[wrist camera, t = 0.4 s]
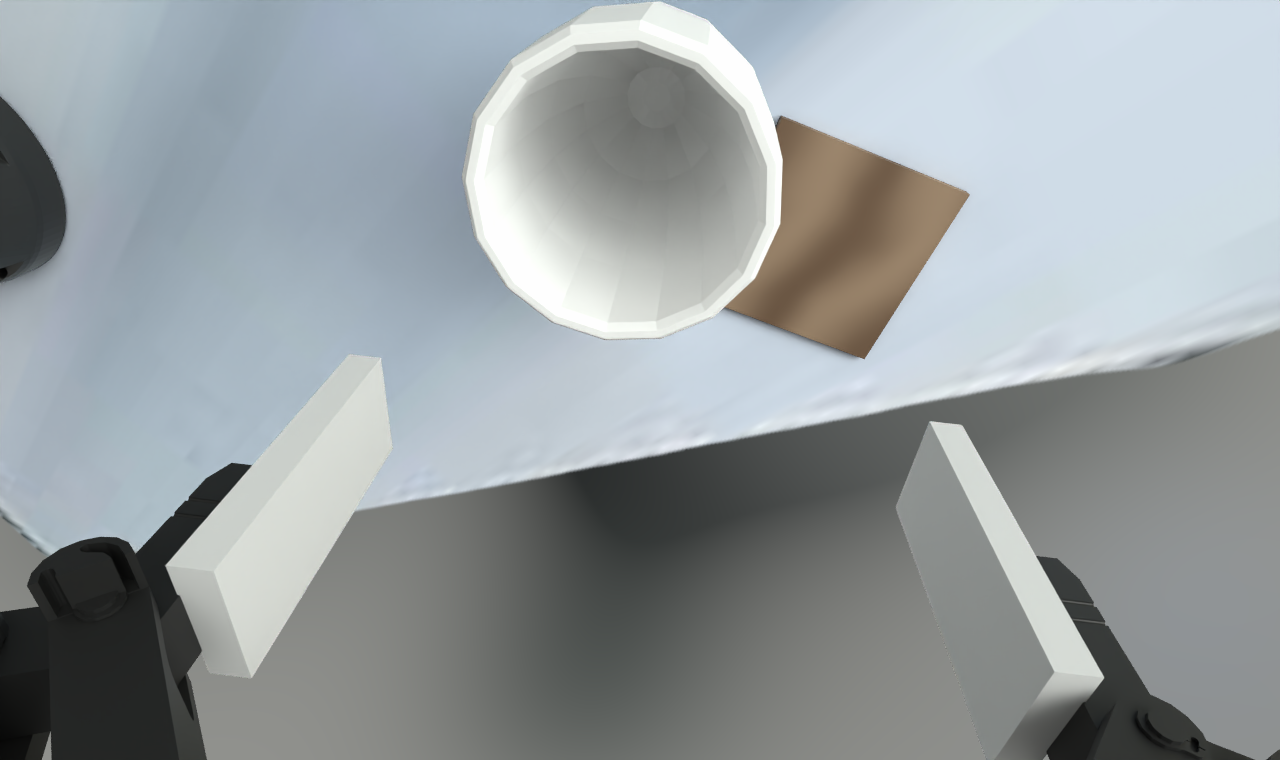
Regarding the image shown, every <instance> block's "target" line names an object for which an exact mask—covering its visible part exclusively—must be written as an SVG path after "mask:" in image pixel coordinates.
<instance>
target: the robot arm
mask: <svg viewBox="0 0 1280 760" xmlns="http://www.w3.org/2000/svg"><path fill="white" fill-rule="evenodd" d="M64 230H65V205H64V199H63V195H62V191H61V187H60V184H59V181H58V178H57V176H56V173H55V171H54V169H53V167H52V164H51V163H50V161H49V159H48V157H47V155H46V153H45V151H44V150H43V148H42V146H41V145H40V143H39V142H38V140H37V139H36V137H35V136H34V135H33V133H32V132H31V130H30V129H29V128H28V127H27V125H26V124H25V123H24V121H23V120H22V119H21V118H20V117H19V116H18V114H17V113H16V112H15V111H14V110H13V109H12V108H11V107H10V106H9V105H8V104H7V103H6V102H5V101H4V100H3V99H2V98H1V97H0V283H2V282H6V281H9V280H12V279H14V278H16V277H18V276H21V275H23V274H25V273H27V272H29V271H31V270H33V269H36V268H38V267H40V266H41V265H43V264H44V263H46V262H47V261H48V260H49V259H50V258H51V257H52V256H53V255H54V254H55V252H56V251H57V249H58V248H59V246H60V244H61V241H62V238H63V235H64ZM392 449H393V447H392V439H391V431H390V424H389V416H388V409H387V401H386V393H385V386H384V378H383V370H382V363H381V358H378V357H370V356H361V355H352V354H349V355H348V356H347V357H346V358H345V359H344V361H343V362H342V363H341V364H340V365H339V366H338V368H337V369H336V370H335V371H334V372H333V373H332V374H331V376H330V377H329V378H328V379H327V380H326V381H325V382H324V384H323V385H322V386H321V387H320V388H319V389H318V391H317V392H316V393H315V394H314V395H313V396H312V397H311V399H310V400H309V401H308V402H307V403H306V404H305V405H304V407H303V408H302V409H301V410H300V411H299V412H298V414H297V415H296V416H295V417H294V418H293V419H292V420H291V422H290V423H289V424H288V425H287V426H286V427H285V428H284V430H283V431H282V432H281V433H280V434H279V435H278V437H277V438H276V439H275V440H274V441H273V442H272V443H271V445H270V446H269V447H268V448H267V449H266V450H265V452H264V453H263V454H262V455H261V456H260V457H259V458H258V460H257V461H256V462H255V463H254V464H253V465H245V464H237V463H231V464H229V465H228V466H226V467H224V468H223V469H221V470H219V471H218V472H216V473H214V474H213V475H211V476H209V477H208V478H206V479H205V480H204V481H203V482H202V484H201V485H200V486H199V487H198V488H197V489H196V490H195V491H194V492H193V493H192V494H191V495H190V496H189V500H188V501H185V502H184V503H183V504H182V505H181V506H180V507H179V508H178V509H177V510H176V511H175V514H174V516H171V517H170V518H169V519H168V520H167V521H166V522H165V523H164V524H163V525H162V526H161V527H160V528H159V529H158V531H157V532H156V533H155V534H154V535H153V536H152V537H151V538H150V539H149V540H148V541H147V542H146V543H145V544H144V545H143V547H142V548H141V549H140V550H139V551H138V552H137V553H136V554H135V553H134V551H133V549H132V547H131V546H130V544H129V542H126V541H124V540H122V539H119V538H117V537H97V538H92V539H87V540H82V541H79V542H76V543H74V544H71V545H69V546H66V547H64V548H62V549H60V550H58V551H57V552H55V553H54V554H52V555H50V556H49V557H47V558H46V559H44V560H43V561H42V562H41V563H40V564H39V565H38V567H37V568H36V569H35V570H34V571H33V572H32V573H31V576H30V579H29V582H28V585H27V587H28V588H29V590H30V592H31V594H32V595H33V597H34V599H35V601H36V602H37V604H38V606H39V607H33V608H27V609H19V610H11V611H4V612H0V760H42V757H43V754H44V750H45V747H46V744H47V740H48V737H49V734H50V731H51V750H52V751H51V752H52V760H207V759H206V753H205V749H204V744H203V739H202V734H201V729H200V724H199V719H198V715H197V710H196V705H195V700H194V695H193V690H192V685H191V681H190V679H189V677H188V674H187V672H188V670H189V669H190V667H191V666H192V665H193V663H194V662H195V660H196V659H197V658H198V656H199V655H200V653H201V654H202V657H203V659H204V662H205V664H206V667H207V669H208V672H209V673H212V674H220V675H228V676H236V677H245V678H252V677H253V675H254V674H255V672H256V670H257V669H258V667H259V665H260V664H261V662H262V660H263V659H264V657H265V656H266V654H267V652H268V651H269V649H270V648H271V646H272V644H273V643H274V641H275V639H276V638H277V636H278V635H279V633H280V631H281V630H282V628H283V626H284V625H285V623H286V621H287V620H288V618H289V617H290V615H291V613H292V612H293V610H294V608H295V607H296V605H297V604H298V602H299V600H300V599H301V597H302V595H303V594H304V592H305V591H306V589H307V587H308V586H309V584H310V582H311V580H312V579H313V577H314V576H315V574H316V573H317V571H318V569H319V568H320V566H321V564H322V563H323V561H324V560H325V558H326V556H327V555H328V553H329V552H330V550H331V548H332V547H333V545H334V543H335V542H336V540H337V539H338V537H339V535H340V534H341V532H342V530H343V529H344V527H345V525H346V524H347V522H348V520H349V519H350V517H351V516H352V514H353V512H354V511H355V509H356V508H357V506H358V504H359V503H360V501H361V499H362V498H363V496H364V495H365V493H366V491H367V490H368V488H369V486H370V485H371V483H372V482H373V480H374V478H375V477H376V475H377V473H378V472H379V470H380V469H381V467H382V465H383V464H384V462H385V460H386V459H387V457H388V456H389V454H390V452H391V451H392ZM896 510H897V513H898V516H899V519H900V521H901V524H902V527H903V530H904V532H905V535H906V538H907V541H908V543H909V546H910V549H911V552H912V555H913V557H914V560H915V563H916V566H917V569H918V571H919V574H920V577H921V580H922V583H923V585H924V588H925V591H926V593H927V596H928V599H929V602H930V605H931V608H932V610H933V613H934V616H935V619H936V621H937V624H938V627H939V629H940V633H941V635H942V638H943V641H944V644H945V646H946V649H947V652H948V655H949V658H950V660H951V663H952V666H953V668H954V672H955V674H956V677H957V680H958V683H959V685H960V688H961V691H962V694H963V697H964V699H965V702H966V705H967V708H968V710H969V713H970V716H971V719H972V722H973V724H974V727H975V730H976V733H977V735H978V738H979V741H980V744H981V747H982V749H983V752H984V754H985V758H986V760H1043V758H1044V757H1045V756H1046V755H1047V754H1048V757H1049V759H1050V760H1254V759H1251V758H1249V757H1246V756H1244V755H1241V754H1238V753H1236V752H1233V751H1231V750H1228V749H1226V748H1223V747H1220V746H1218V745H1215V744H1213V743H1211V742H1208V741H1206V739H1205V737H1204V735H1203V733H1202V732H1201V731H1200V730H1199V729H1198V728H1197V726H1196V725H1195V724H1194V723H1193V722H1192V721H1191V720H1190V719H1189V718H1188V717H1187V716H1186V715H1184V714H1183V713H1182V712H1180V711H1179V710H1178V709H1176V708H1175V707H1173V706H1172V705H1171V704H1169V703H1167V702H1165V701H1163V700H1160V699H1159V698H1156V697H1154V696H1152V695H1150V694H1149V692H1148V690H1147V689H1146V687H1145V685H1144V684H1143V682H1142V681H1141V679H1140V677H1139V676H1138V674H1137V672H1136V671H1135V669H1134V667H1133V666H1132V664H1131V663H1130V661H1129V660H1128V658H1127V656H1126V654H1125V653H1124V651H1123V650H1122V648H1121V646H1120V645H1119V643H1118V641H1117V640H1116V638H1115V637H1114V635H1113V633H1112V632H1111V630H1110V629H1109V627H1108V626H1105V620H1104V619H1103V617H1102V615H1101V614H1100V612H1099V610H1098V609H1097V607H1094V606H1093V603H1094V602H1093V601H1092V599H1091V597H1090V596H1089V594H1088V592H1087V591H1086V589H1085V588H1084V586H1083V584H1082V583H1081V581H1080V580H1079V579H1078V578H1077V577H1076V576H1075V575H1074V574H1073V573H1072V572H1071V571H1070V570H1069V569H1068V568H1067V567H1066V566H1064V565H1063V564H1062V563H1061V562H1060V561H1059V560H1058V559H1057V558H1048V557H1039V556H1035V554H1034V552H1033V550H1032V549H1031V547H1030V545H1029V543H1028V541H1027V540H1026V538H1025V536H1024V535H1023V533H1022V531H1021V529H1020V527H1019V526H1018V524H1017V522H1016V520H1015V518H1014V517H1013V515H1012V513H1011V511H1010V509H1009V508H1008V506H1007V504H1006V502H1005V501H1004V499H1003V497H1002V495H1001V494H1000V492H999V490H998V488H997V486H996V485H995V483H994V481H993V479H992V478H991V476H990V474H989V472H988V470H987V469H986V467H985V465H984V464H983V462H982V460H981V458H980V456H979V454H978V453H977V451H976V449H975V448H974V446H973V444H972V442H971V441H970V439H969V437H968V435H967V433H966V431H965V430H964V428H963V426H962V425H957V424H948V423H939V422H931V421H930V422H929V424H928V427H927V429H926V432H925V434H924V437H923V439H922V442H921V444H920V447H919V450H918V452H917V455H916V457H915V460H914V462H913V465H912V467H911V470H910V472H909V475H908V477H907V480H906V483H905V485H904V487H903V490H902V493H901V495H900V498H899V500H898V503H897V505H896ZM1267 760H1280V750H1278V751H1277V752H1275V753H1274V754H1273V755H1271V756H1270V757H1269V758H1268V759H1267Z"/></svg>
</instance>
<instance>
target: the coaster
mask: <svg viewBox="0 0 1280 760" xmlns="http://www.w3.org/2000/svg"><path fill="white" fill-rule="evenodd" d="M775 129H776V133H777V137H778V142H779V146H780V151H781V155H782V159H783V162H782V189H781V216H780V225H779V228H778V230H777V232H776V234H775V236H774V238H773V241H772V243H771V245H770V247H769V249H768V251H767V253H766V256H765V258H764V260H763V262H762V264H761V266H760V269H759V271H758V273H757V275H756V277H755V279H754V280H753V281H752V282H751V283H750V284H749V285H747V286H746V287H745V288H744V289H743V290H742V291H741V292H740V293H739V294H738V295H737V296H736V297H735V298H734V299H733V300H731V301H730V302H729V303H728V304H727V305H726V306H725V308H728V309H731V310H734V311H736V312H739V313H742V314H744V315H747V316H750V317H752V318H755V319H758V320H760V321H763V322H766V323H769V324H771V325H774V326H777V327H779V328H782V329H785V330H787V331H790V332H793V333H795V334H798V335H801V336H804V337H806V338H809V339H812V340H814V341H817V342H820V343H822V344H825V345H828V346H830V347H833V348H836V349H839V350H841V351H844V352H847V353H849V354H852V355H855V356H857V357H860V358H863V359H865V357H866V356H867V354H868V353H869V351H870V350H871V348H872V346H873V345H874V343H875V342H876V340H877V339H878V337H879V336H880V334H881V332H882V331H883V329H884V328H885V326H886V325H887V323H888V321H889V320H890V318H891V317H892V315H893V314H894V312H895V311H896V309H897V307H898V306H899V304H900V303H901V301H902V300H903V298H904V297H905V295H906V293H907V292H908V290H909V289H910V287H911V286H912V284H913V282H914V281H915V279H916V278H917V276H918V275H919V273H920V272H921V270H922V268H923V267H924V265H925V264H926V262H927V261H928V259H929V258H930V256H931V254H932V253H933V251H934V250H935V248H936V247H937V245H938V243H939V242H940V240H941V239H942V237H943V236H944V234H945V233H946V231H947V229H948V228H949V226H950V225H951V223H952V222H953V220H954V219H955V217H956V215H957V214H958V212H959V211H960V209H961V208H962V206H963V205H964V203H965V201H966V200H967V198H968V197H969V194H968V193H967V192H966V191H963V190H961V189H959V188H956V187H954V186H951V185H949V184H946V183H944V182H942V181H939V180H937V179H934V178H932V177H929V176H927V175H924V174H922V173H920V172H917V171H915V170H912V169H910V168H907V167H905V166H903V165H900V164H898V163H895V162H893V161H890V160H888V159H886V158H883V157H881V156H878V155H876V154H873V153H871V152H869V151H866V150H864V149H861V148H859V147H856V146H854V145H852V144H849V143H847V142H844V141H842V140H839V139H837V138H835V137H832V136H830V135H827V134H825V133H822V132H820V131H818V130H815V129H813V128H810V127H808V126H805V125H803V124H800V123H798V122H796V121H793V120H791V119H788V118H786V117H783V116H781V117H780V119H779V121H778V123H777V126H776V128H775Z"/></svg>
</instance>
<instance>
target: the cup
mask: <svg viewBox="0 0 1280 760" xmlns="http://www.w3.org/2000/svg"><path fill="white" fill-rule="evenodd" d="M782 162H783V159H782V155H781V151H780V146H779V142H778V137H777V133H776V129H775V124H774V121H773V119H772V116H771V113H770V111H769V108H768V105H767V103H766V100H765V98H764V95H763V92H762V90H761V87H760V84H759V82H758V79H757V77H756V74H755V71H754V69H753V67H752V66H751V65H750V64H749V63H748V62H747V60H746V59H745V58H744V57H743V56H742V55H741V54H740V53H739V52H738V51H737V50H736V49H735V48H734V47H733V46H732V45H731V44H730V43H729V42H728V41H727V40H726V39H725V38H724V37H723V36H722V35H721V34H720V32H719V31H718V30H717V29H716V28H715V27H714V26H713V25H712V24H711V23H710V22H709V21H708V20H707V19H704V18H702V17H699V16H697V15H694V14H691V13H689V12H686V11H684V10H681V9H678V8H676V7H673V6H671V5H668V4H665V3H663V2H646V3H634V4H621V5H608V6H595V7H592V8H590V9H589V10H587V11H585V12H583V13H582V14H580V15H578V16H577V17H575V18H573V19H571V20H570V21H568V22H566V23H564V24H563V25H561V26H559V27H558V28H556V29H554V30H552V31H551V32H549V33H547V34H546V35H544V36H542V37H541V38H539V39H538V40H537V41H535V42H534V43H533V44H531V45H530V46H529V47H527V48H526V49H525V50H523V51H522V52H520V53H519V54H518V55H516V56H515V57H514V58H512V59H511V60H510V61H509V63H508V64H507V66H506V67H505V69H504V70H503V72H502V73H501V75H500V76H499V77H498V79H497V80H496V82H495V83H494V85H493V86H492V88H491V89H490V91H489V92H488V93H487V95H486V96H485V98H484V99H483V101H482V102H481V104H480V105H479V107H478V108H477V109H476V111H475V112H474V114H473V119H472V124H471V129H470V135H469V140H468V146H467V151H466V156H465V162H464V167H463V172H462V180H463V185H464V190H465V195H466V199H467V204H468V209H469V214H470V219H471V224H472V228H473V233H474V237H475V239H476V240H477V242H478V243H479V245H480V247H481V248H482V250H483V251H484V253H485V254H486V256H487V258H488V259H489V261H490V262H491V264H492V265H493V267H494V269H495V270H496V272H497V273H498V275H499V276H500V278H501V280H502V281H503V283H504V284H505V286H506V287H507V288H508V289H509V290H511V291H512V292H513V293H515V294H516V295H517V296H518V297H520V298H521V299H522V300H524V301H525V302H526V303H528V304H529V305H530V306H531V307H533V308H534V309H535V310H537V311H538V312H539V313H540V314H542V315H543V316H544V317H546V318H547V319H548V320H550V321H551V322H552V323H555V324H558V325H561V326H564V327H568V328H571V329H574V330H577V331H580V332H583V333H586V334H589V335H592V336H595V337H598V338H601V339H604V340H625V339H661V338H664V337H666V336H669V335H671V334H674V333H676V332H679V331H681V330H684V329H686V328H689V327H691V326H694V325H696V324H699V323H701V322H704V321H706V320H709V319H711V318H713V317H714V316H715V315H716V314H718V313H719V312H720V311H721V310H722V309H723V308H724V307H725V306H726V305H727V304H728V303H729V302H730V301H731V300H733V299H734V298H735V297H736V296H737V295H738V294H739V293H740V292H741V291H742V290H743V289H744V288H745V287H746V286H747V285H749V284H750V283H751V282H752V281H753V280H754V279H755V277H756V275H757V273H758V271H759V269H760V266H761V264H762V262H763V260H764V258H765V256H766V253H767V251H768V249H769V247H770V245H771V243H772V241H773V238H774V236H775V234H776V232H777V230H778V228H779V225H780V216H781V189H782Z"/></svg>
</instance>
